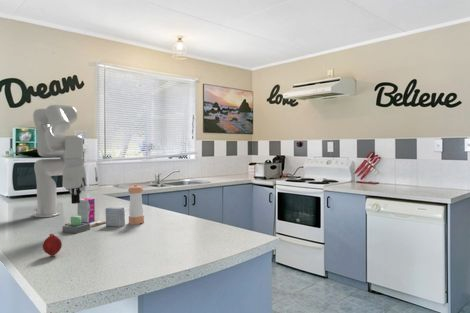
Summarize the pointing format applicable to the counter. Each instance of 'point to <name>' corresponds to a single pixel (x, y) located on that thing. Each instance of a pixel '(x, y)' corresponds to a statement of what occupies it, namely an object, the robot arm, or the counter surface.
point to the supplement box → (86, 210)
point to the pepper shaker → (136, 205)
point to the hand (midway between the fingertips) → (75, 203)
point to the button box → (75, 228)
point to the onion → (52, 245)
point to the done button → (76, 221)
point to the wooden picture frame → (93, 223)
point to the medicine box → (115, 216)
